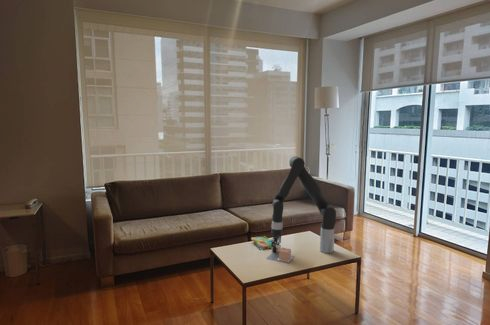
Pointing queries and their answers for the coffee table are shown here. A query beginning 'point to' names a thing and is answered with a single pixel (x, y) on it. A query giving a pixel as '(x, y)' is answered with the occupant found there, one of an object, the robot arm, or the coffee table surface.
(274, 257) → the blueprint board
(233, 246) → the coffee table surface
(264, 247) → the puzzle game
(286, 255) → the terracotta base block
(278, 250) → the maple cube
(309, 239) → the coffee table surface
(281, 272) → the coffee table surface
